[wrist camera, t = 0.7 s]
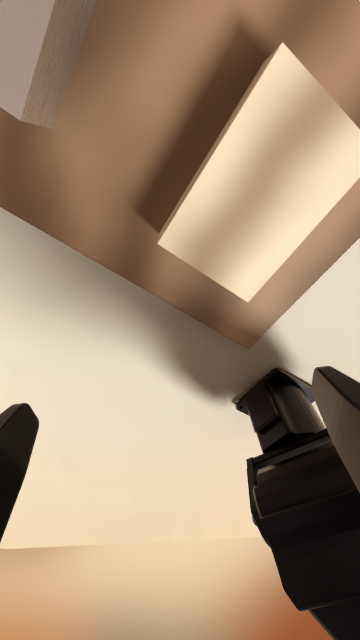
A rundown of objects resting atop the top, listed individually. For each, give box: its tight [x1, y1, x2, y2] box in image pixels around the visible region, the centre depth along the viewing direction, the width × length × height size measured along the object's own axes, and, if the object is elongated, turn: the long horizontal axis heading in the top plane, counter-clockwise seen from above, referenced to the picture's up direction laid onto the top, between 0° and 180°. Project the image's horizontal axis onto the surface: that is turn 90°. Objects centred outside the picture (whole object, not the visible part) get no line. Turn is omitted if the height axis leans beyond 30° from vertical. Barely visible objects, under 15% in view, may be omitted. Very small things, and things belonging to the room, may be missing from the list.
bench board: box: [0, 0, 360, 349], centre depth 16 cm, size 24×18×2 cm
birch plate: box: [157, 42, 360, 302], centre depth 15 cm, size 7×10×2 cm
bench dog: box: [0, 0, 96, 129], centre depth 11 cm, size 2×7×4 cm, turn 146°
